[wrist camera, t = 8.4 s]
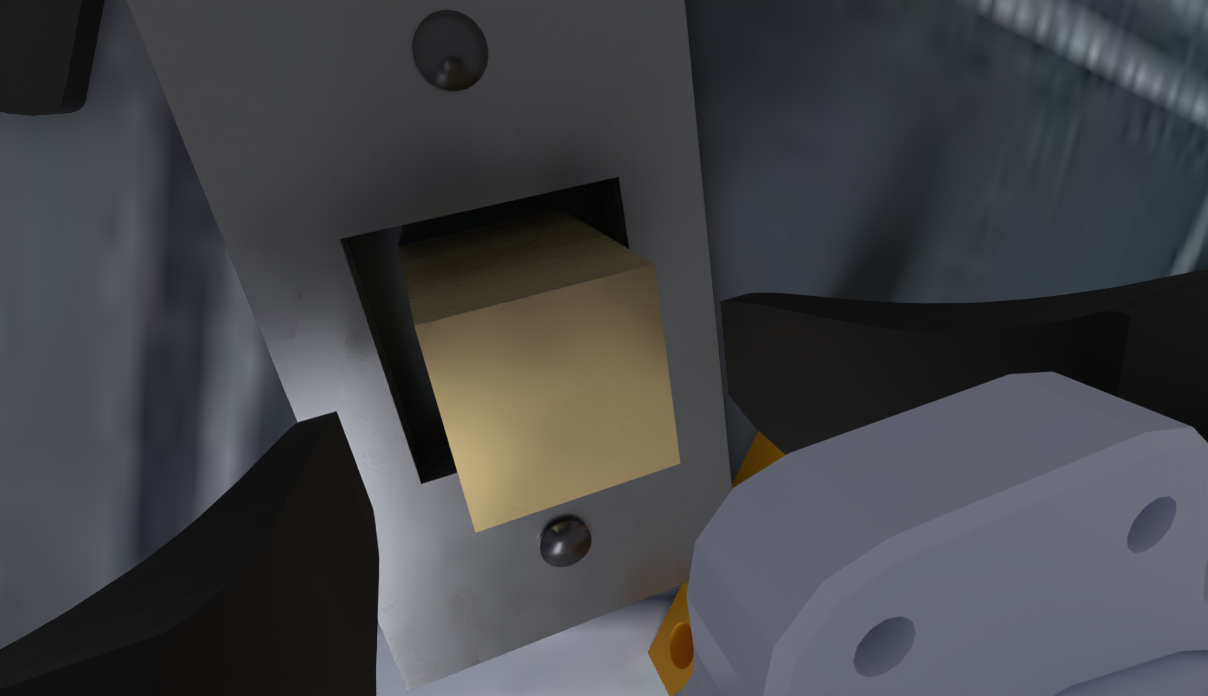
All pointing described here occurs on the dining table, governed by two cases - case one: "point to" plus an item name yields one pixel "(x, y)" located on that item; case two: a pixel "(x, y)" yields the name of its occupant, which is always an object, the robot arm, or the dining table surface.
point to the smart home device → (46, 54)
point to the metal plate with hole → (437, 188)
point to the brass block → (542, 361)
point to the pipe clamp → (674, 635)
